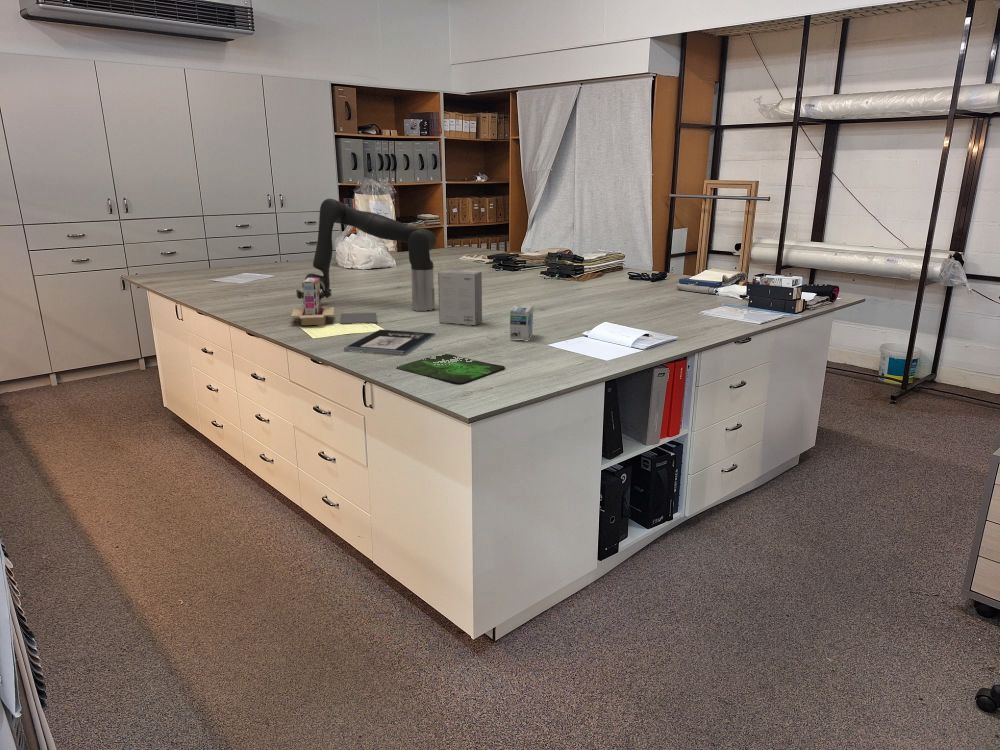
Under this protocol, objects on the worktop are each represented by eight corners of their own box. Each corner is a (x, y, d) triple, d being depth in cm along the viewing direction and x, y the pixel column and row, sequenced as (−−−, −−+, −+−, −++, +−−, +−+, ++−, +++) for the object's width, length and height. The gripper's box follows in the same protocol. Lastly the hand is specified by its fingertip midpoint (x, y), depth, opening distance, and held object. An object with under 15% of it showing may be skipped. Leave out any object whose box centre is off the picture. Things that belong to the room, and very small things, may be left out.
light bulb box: (528, 341, 236) (528, 311, 233) (509, 340, 237) (509, 310, 234) (532, 334, 246) (533, 305, 243) (514, 333, 247) (515, 304, 244)
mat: (375, 313, 278) (375, 312, 278) (377, 323, 261) (377, 322, 261) (341, 314, 275) (341, 313, 275) (339, 324, 258) (339, 323, 258)
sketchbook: (435, 336, 244) (435, 331, 244) (404, 358, 216) (404, 352, 216) (380, 332, 249) (379, 327, 249) (342, 352, 221) (342, 346, 221)
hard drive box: (482, 322, 264) (482, 271, 259) (475, 326, 257) (475, 274, 252) (446, 319, 269) (445, 269, 263) (438, 323, 262) (437, 271, 256)
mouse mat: (391, 369, 204) (391, 365, 203) (441, 354, 220) (441, 351, 220) (460, 386, 188) (460, 383, 187) (507, 369, 204) (508, 366, 204)
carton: (335, 315, 275) (334, 305, 273) (333, 326, 254) (333, 316, 253) (295, 316, 272) (294, 306, 270) (290, 328, 251) (289, 317, 250)
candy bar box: (318, 324, 258) (314, 281, 253) (304, 324, 257) (301, 281, 253) (322, 318, 268) (319, 277, 264) (310, 318, 268) (306, 277, 263)
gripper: (296, 280, 273) (292, 287, 257) (332, 280, 276) (331, 286, 260) (297, 299, 276) (293, 307, 260) (333, 298, 278) (332, 306, 262)
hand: (312, 297), depth 260 cm, fingers closed on candy bar box, 5 cm apart
